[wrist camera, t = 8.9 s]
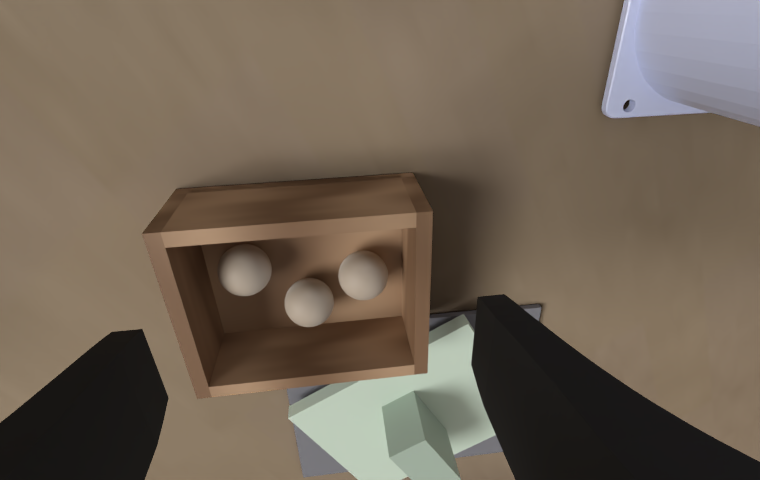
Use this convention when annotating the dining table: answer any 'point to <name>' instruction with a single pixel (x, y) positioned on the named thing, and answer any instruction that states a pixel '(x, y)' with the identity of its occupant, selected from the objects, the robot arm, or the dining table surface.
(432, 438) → the lid
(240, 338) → the box
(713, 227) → the dining table surface
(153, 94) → the dining table surface
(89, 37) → the dining table surface
